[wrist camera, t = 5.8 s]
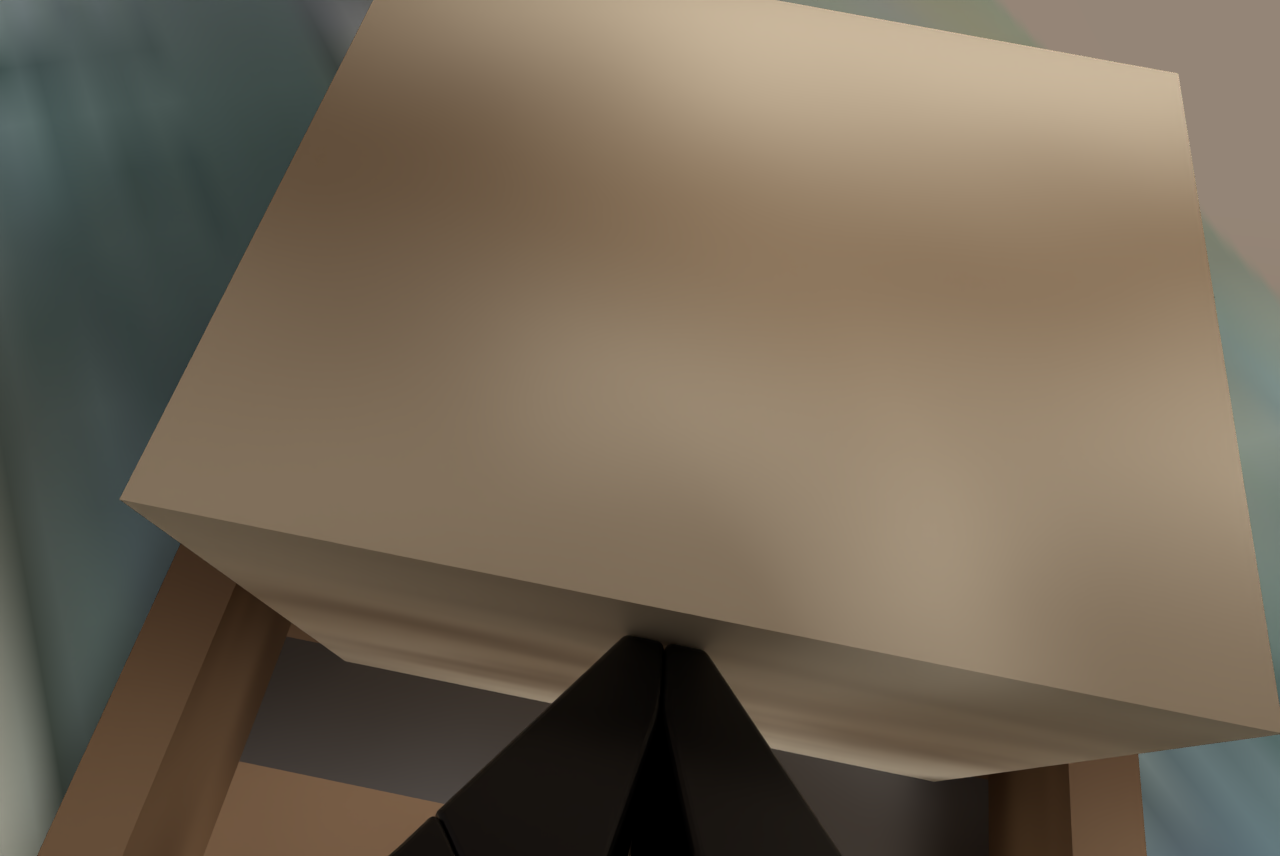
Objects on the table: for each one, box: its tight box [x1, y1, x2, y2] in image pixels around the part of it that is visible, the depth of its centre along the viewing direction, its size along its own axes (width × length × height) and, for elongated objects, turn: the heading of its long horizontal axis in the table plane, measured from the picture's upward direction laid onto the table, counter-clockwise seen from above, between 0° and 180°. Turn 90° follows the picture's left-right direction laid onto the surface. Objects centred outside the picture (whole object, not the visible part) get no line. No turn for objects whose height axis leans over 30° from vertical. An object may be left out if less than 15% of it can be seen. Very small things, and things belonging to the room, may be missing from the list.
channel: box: [37, 544, 1147, 856], centre depth 13 cm, size 23×14×4 cm, turn 169°
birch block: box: [120, 0, 1280, 782], centre depth 12 cm, size 8×10×8 cm
